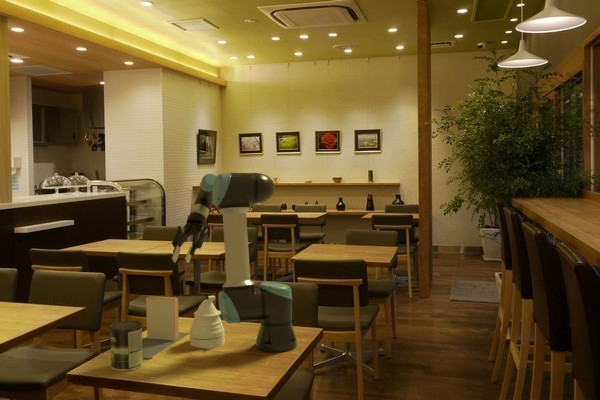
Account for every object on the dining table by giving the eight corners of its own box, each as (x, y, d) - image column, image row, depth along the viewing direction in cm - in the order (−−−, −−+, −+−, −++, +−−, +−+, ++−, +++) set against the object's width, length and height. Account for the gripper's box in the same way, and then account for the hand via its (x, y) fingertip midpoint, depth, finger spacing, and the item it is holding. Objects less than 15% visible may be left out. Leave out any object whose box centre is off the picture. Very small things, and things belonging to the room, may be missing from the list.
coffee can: (112, 373, 181) (111, 330, 180) (109, 363, 190) (108, 322, 189) (145, 368, 185) (144, 326, 184) (141, 358, 194) (140, 319, 193)
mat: (149, 359, 193) (149, 358, 193) (114, 356, 197) (114, 354, 197) (190, 334, 222) (190, 333, 222) (159, 331, 226) (159, 330, 226)
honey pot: (228, 338, 216) (227, 292, 215) (220, 349, 203) (219, 300, 202) (195, 337, 217) (194, 292, 216) (185, 348, 205) (184, 300, 204)
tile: (151, 336, 218) (150, 295, 217) (178, 338, 215) (177, 297, 214) (146, 338, 215) (145, 297, 214) (174, 341, 212) (173, 299, 211)
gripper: (219, 222, 243) (203, 266, 228) (182, 221, 248) (163, 265, 233) (214, 211, 237) (197, 256, 222) (175, 211, 242) (156, 254, 228)
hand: (180, 260), depth 228 cm, fingers open, 5 cm apart
